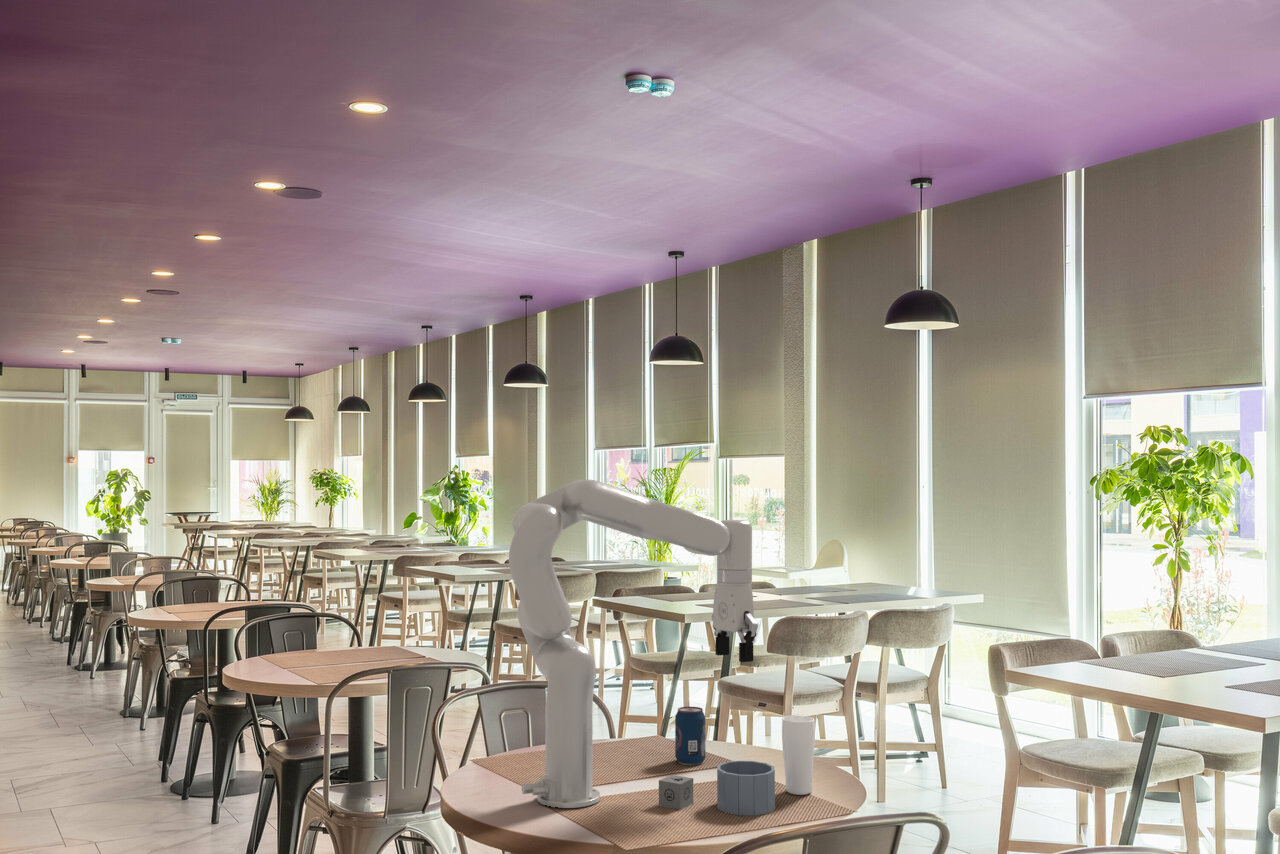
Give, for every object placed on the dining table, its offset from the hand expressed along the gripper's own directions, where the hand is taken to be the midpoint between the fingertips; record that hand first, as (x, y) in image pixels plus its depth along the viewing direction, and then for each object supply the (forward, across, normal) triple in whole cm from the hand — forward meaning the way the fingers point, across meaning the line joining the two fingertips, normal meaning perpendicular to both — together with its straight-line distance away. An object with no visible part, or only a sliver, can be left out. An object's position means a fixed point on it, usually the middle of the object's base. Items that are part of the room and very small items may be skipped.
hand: (734, 658), depth 225 cm
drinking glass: (+26, +11, +9) cm, 30 cm away
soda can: (+27, -20, 0) cm, 33 cm away
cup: (+26, +15, -6) cm, 31 cm away
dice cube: (+27, +8, -18) cm, 33 cm away
